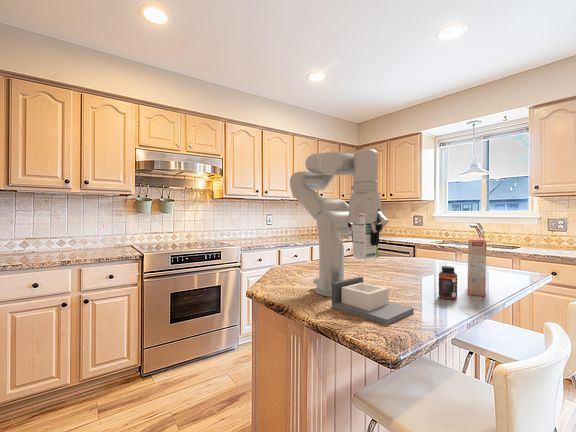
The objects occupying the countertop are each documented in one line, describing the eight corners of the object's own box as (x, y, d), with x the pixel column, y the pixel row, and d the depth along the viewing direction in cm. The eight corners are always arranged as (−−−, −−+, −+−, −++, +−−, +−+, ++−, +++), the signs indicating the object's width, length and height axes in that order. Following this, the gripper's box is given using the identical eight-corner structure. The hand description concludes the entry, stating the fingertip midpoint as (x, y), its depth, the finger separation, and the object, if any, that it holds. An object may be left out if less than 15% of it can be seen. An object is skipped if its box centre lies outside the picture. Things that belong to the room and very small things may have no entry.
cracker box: (486, 297, 108) (487, 240, 108) (467, 295, 111) (467, 239, 111) (485, 289, 120) (485, 237, 120) (467, 287, 123) (468, 236, 123)
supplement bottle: (459, 300, 104) (460, 268, 104) (441, 299, 105) (441, 268, 105) (453, 296, 110) (454, 265, 110) (436, 295, 111) (436, 265, 111)
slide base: (331, 307, 97) (331, 283, 97) (359, 298, 106) (359, 276, 106) (387, 325, 82) (387, 296, 81) (413, 313, 91) (413, 287, 91)
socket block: (341, 302, 97) (341, 287, 96) (361, 296, 103) (361, 282, 103) (369, 311, 88) (369, 294, 88) (388, 303, 95) (388, 288, 95)
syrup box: (365, 259, 92) (365, 212, 92) (352, 256, 97) (352, 212, 97) (378, 258, 94) (378, 212, 94) (365, 255, 100) (365, 212, 99)
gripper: (336, 189, 100) (336, 242, 100) (382, 186, 86) (382, 247, 87) (350, 190, 104) (350, 241, 105) (396, 187, 91) (396, 245, 91)
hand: (365, 243), depth 96 cm, fingers closed on syrup box, 6 cm apart
